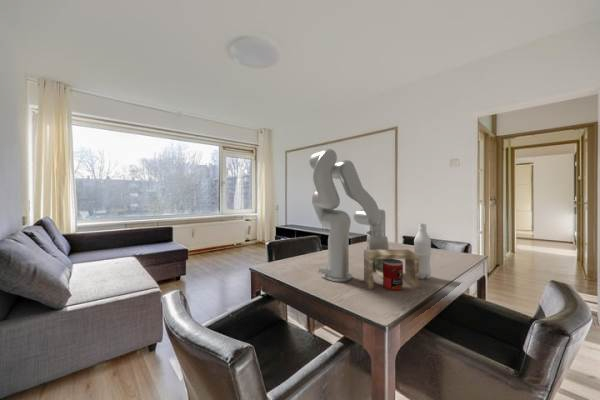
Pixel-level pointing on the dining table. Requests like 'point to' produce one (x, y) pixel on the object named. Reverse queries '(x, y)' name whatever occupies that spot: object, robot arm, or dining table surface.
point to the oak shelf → (408, 255)
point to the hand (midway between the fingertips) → (377, 269)
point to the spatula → (378, 267)
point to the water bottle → (423, 251)
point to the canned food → (393, 274)
